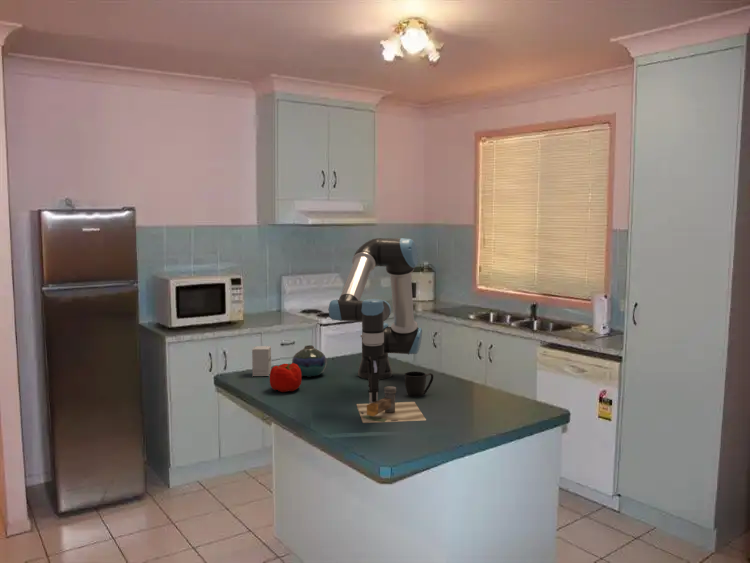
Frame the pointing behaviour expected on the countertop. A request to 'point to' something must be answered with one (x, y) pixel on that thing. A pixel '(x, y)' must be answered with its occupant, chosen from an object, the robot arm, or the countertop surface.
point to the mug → (416, 383)
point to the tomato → (285, 377)
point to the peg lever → (383, 402)
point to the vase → (310, 361)
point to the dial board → (393, 413)
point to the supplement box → (261, 360)
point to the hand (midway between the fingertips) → (373, 409)
